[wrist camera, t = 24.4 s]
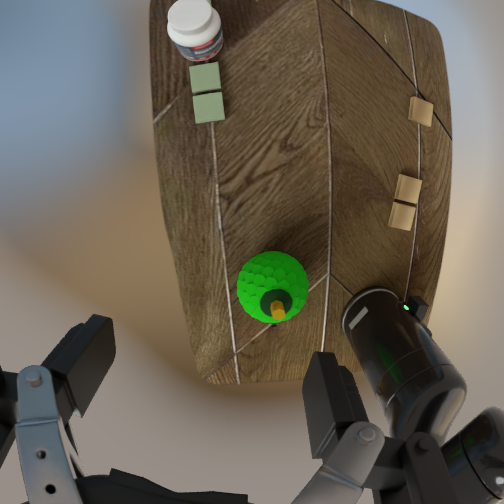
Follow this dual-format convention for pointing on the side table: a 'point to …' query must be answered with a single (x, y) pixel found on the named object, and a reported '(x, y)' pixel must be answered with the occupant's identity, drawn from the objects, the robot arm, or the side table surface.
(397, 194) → the set of tan tiles
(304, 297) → the ornament
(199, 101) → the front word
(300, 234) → the side table surface
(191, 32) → the pill bottle
